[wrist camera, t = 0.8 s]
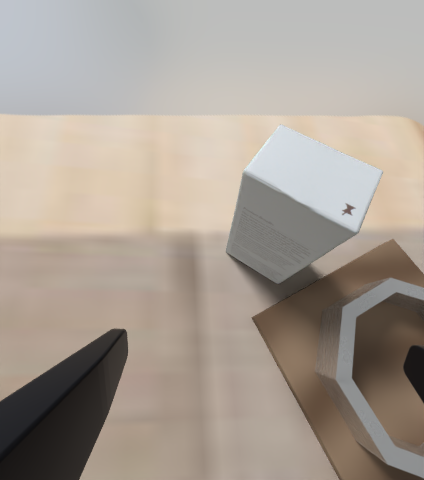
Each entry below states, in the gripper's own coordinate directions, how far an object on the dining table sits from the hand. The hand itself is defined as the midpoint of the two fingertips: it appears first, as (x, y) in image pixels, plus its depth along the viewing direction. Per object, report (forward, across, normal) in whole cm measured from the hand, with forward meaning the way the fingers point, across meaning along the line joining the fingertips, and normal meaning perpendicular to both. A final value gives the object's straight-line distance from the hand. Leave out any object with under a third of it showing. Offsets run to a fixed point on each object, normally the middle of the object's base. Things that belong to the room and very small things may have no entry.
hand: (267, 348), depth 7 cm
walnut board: (+9, -13, +9) cm, 18 cm away
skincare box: (+15, -3, +2) cm, 16 cm away
